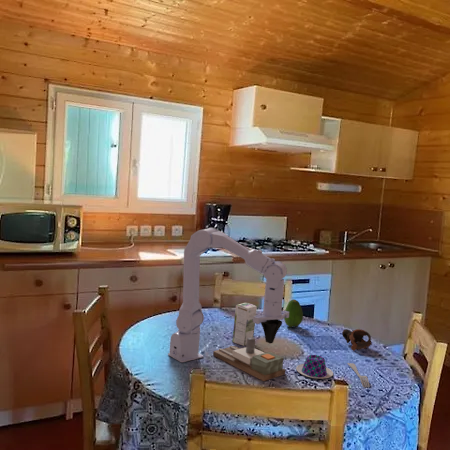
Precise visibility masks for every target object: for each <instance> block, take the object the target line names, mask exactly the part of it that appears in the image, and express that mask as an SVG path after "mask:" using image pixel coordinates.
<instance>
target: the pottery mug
mask: <svg viewBox="0 0 450 450" xmlns="http://www.w3.org/2000/svg"><path fill="white" fill-rule="evenodd" d="M341 333H342V337H343V339H344V340H345V341H346V343H347V344H349V343H350V344H351V347H350V350H352V351H354V352H355V351H356V350H364V349H365V350H366V349H367V348H370V346H373V343H372V336H371V334H370V333H369V332H368V331H366V330H364V329H360V328H358V329H354V330H350V329H348V328H347V329H346V328H345V329H343V331H342V332H341ZM365 336H367V338H368V339H367V341H366V340H365V339H364V337H365Z"/></svg>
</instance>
